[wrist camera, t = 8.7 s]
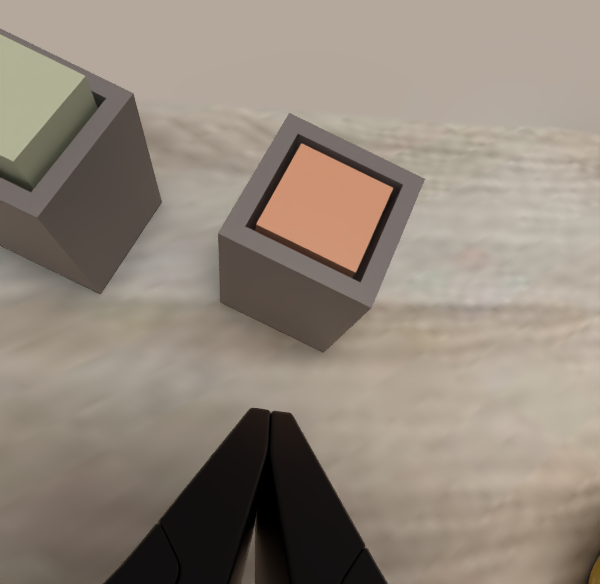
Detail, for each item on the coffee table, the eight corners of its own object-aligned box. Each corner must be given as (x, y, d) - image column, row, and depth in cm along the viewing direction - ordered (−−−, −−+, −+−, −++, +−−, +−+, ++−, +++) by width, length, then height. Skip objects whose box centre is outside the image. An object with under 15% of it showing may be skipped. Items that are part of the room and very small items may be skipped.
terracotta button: (373, 217, 20) (393, 188, 18) (339, 294, 19) (355, 272, 17) (292, 178, 20) (301, 143, 18) (252, 251, 19) (256, 224, 17)
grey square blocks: (365, 258, 26) (424, 178, 18) (200, 633, 19) (183, 760, 12) (19, 90, 26) (-69, -62, 18) (-266, 407, 19) (-599, 381, 12)
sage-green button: (103, 123, 18) (85, 76, 16) (42, 200, 17) (13, 161, 15) (13, 79, 18) (-19, 25, 16) (-55, 153, 17) (-101, 106, 15)
